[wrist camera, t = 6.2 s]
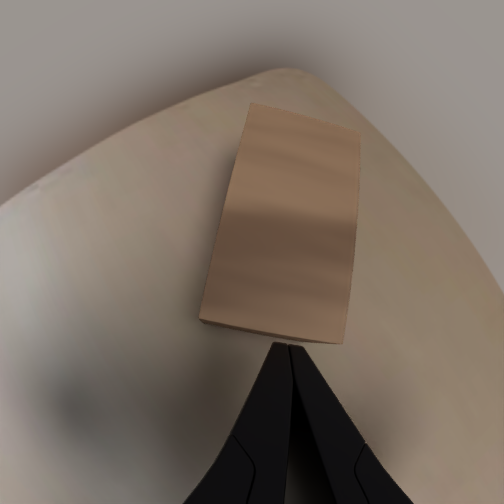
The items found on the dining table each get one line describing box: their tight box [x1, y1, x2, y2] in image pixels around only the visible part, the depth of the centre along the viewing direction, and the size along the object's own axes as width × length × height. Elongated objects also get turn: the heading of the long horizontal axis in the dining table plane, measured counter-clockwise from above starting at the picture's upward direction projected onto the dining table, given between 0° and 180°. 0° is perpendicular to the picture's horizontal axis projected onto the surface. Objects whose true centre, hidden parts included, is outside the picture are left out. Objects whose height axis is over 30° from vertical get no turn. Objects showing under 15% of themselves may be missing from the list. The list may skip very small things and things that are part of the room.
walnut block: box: [198, 103, 361, 344], centre depth 14 cm, size 5×5×9 cm
